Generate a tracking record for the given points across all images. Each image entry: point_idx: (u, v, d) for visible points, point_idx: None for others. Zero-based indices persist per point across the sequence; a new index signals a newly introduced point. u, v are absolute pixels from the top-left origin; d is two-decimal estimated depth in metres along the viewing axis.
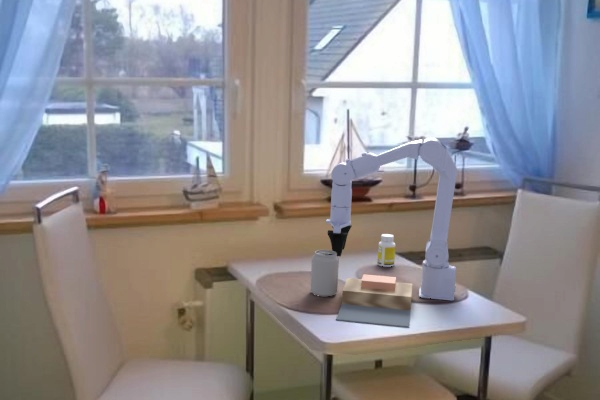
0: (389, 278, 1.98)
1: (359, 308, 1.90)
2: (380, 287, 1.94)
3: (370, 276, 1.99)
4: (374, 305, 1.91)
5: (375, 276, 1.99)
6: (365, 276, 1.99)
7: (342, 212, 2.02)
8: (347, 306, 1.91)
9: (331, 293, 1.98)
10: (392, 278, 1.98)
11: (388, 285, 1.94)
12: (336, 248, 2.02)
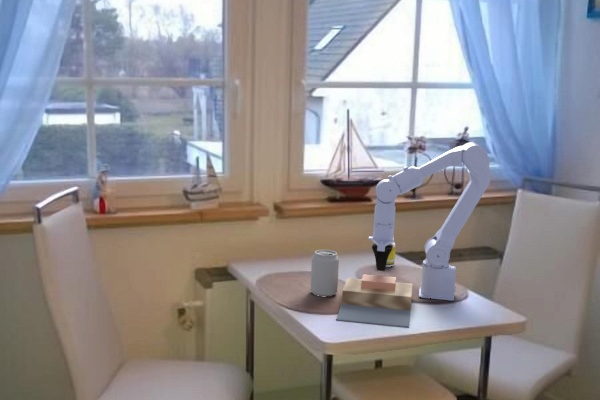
0: (389, 278, 1.98)
1: (359, 308, 1.90)
2: (380, 287, 1.94)
3: (370, 276, 1.99)
4: (374, 305, 1.91)
5: (375, 276, 1.99)
6: (365, 276, 1.99)
7: (385, 230, 1.99)
8: (347, 306, 1.91)
9: (331, 293, 1.98)
10: (392, 278, 1.98)
11: (388, 285, 1.94)
12: (380, 263, 2.03)
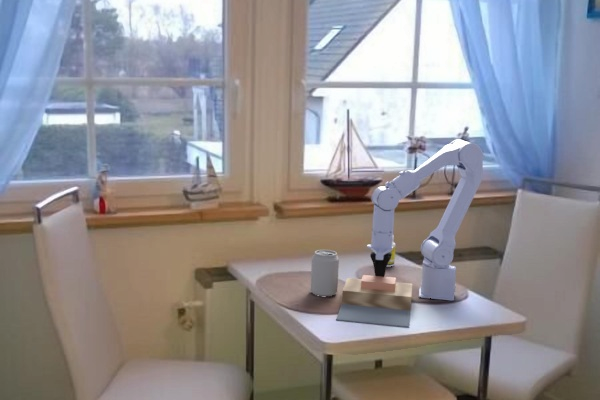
0: (389, 279, 1.97)
1: (359, 308, 1.90)
2: (380, 288, 1.94)
3: (370, 277, 1.98)
4: (374, 305, 1.91)
5: (375, 277, 1.98)
6: (365, 276, 1.98)
7: (384, 238, 1.95)
8: (347, 306, 1.91)
9: (331, 293, 1.98)
10: (392, 279, 1.97)
11: (387, 286, 1.93)
12: (379, 271, 1.99)
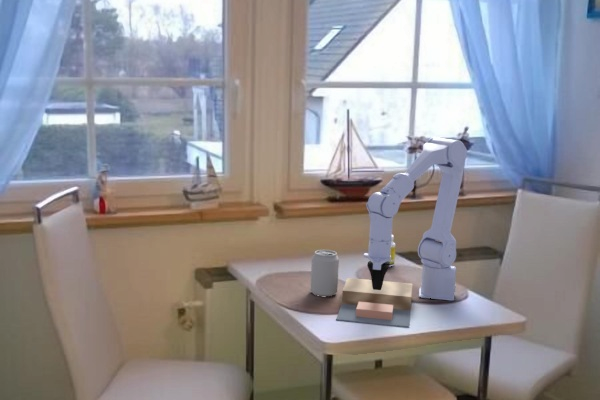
0: None
1: None
2: None
3: None
4: None
5: None
6: None
7: (381, 246, 1.86)
8: (347, 306, 1.91)
9: (331, 293, 1.98)
10: None
11: None
12: (376, 281, 1.90)
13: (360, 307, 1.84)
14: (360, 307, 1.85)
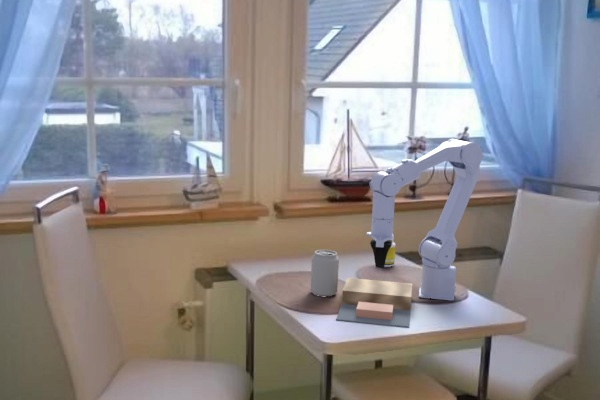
0: None
1: None
2: None
3: None
4: None
5: None
6: None
7: (384, 225, 1.90)
8: (347, 306, 1.91)
9: (331, 293, 1.98)
10: None
11: None
12: (379, 259, 1.94)
13: (360, 307, 1.84)
14: (360, 307, 1.85)
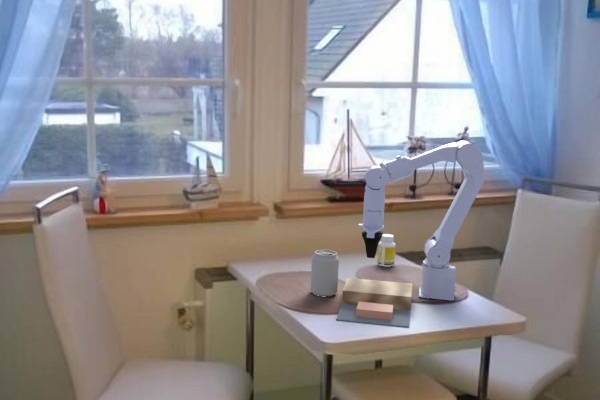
0: None
1: None
2: None
3: None
4: None
5: None
6: None
7: (375, 216, 1.98)
8: (347, 306, 1.91)
9: (331, 293, 1.98)
10: None
11: None
12: (370, 250, 2.02)
13: (360, 307, 1.84)
14: (360, 307, 1.85)
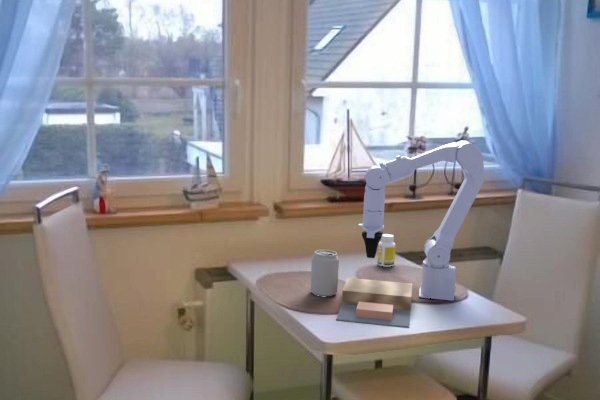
0: None
1: None
2: None
3: None
4: None
5: None
6: None
7: (375, 216, 1.98)
8: (347, 306, 1.91)
9: (331, 293, 1.98)
10: None
11: None
12: (370, 250, 2.02)
13: (360, 307, 1.84)
14: (360, 307, 1.85)
